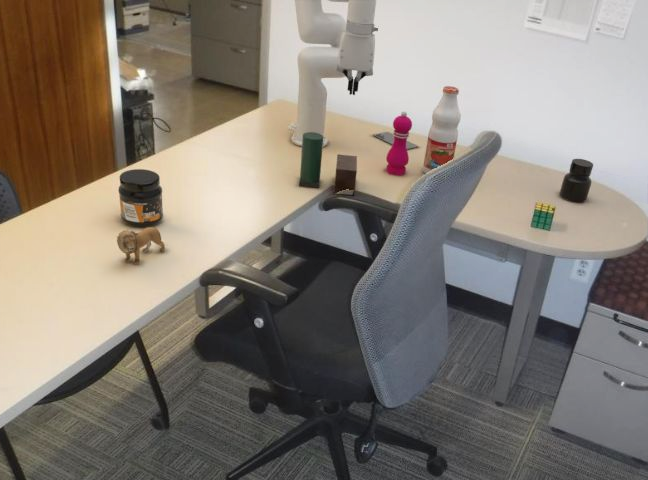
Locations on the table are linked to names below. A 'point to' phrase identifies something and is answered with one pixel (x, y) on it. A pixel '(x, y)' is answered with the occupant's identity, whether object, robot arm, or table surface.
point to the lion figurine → (138, 242)
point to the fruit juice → (443, 130)
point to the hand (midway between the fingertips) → (352, 93)
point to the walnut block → (345, 173)
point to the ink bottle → (577, 181)
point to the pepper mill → (399, 146)
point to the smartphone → (392, 139)
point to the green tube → (311, 160)
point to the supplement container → (140, 198)
